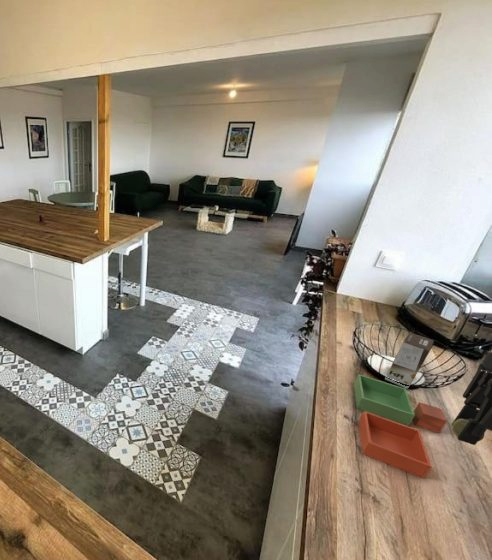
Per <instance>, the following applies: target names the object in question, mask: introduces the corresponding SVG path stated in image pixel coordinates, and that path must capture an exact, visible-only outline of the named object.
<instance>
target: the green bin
mask: <svg viewBox="0 0 492 560" xmlns="http://www.w3.org/2000/svg"><path fill="white" fill-rule="evenodd" d="M353 389H354V390H353V391H354V398H355V405H356V409H357V410H360V411H362V412H364V411H366V412H369V413H371V414H374V415H377V416H380V417H383V418H386V419H389V420H391V421H394V422H397V423H400V424H403V425H406V426H409V427H410V424H411V423H412V422H413V420H414V416H415V414H414V408H413V405H412V402H411V399H410V396H409V394H408V389H406V388H404V387H401V386H399V385H396V384H392V383H389V382H386V381H382V380H379V379H376V378H372V377H369V376H366V375H363V374H359V373H358V374H357V376H356V378H355V380H354V383H353Z"/></svg>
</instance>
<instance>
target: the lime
mask: <svg viewBox="0 0 492 560" xmlns="http://www.w3.org/2000/svg"><path fill="white" fill-rule="evenodd" d="M453 421H454V420H453ZM453 421H452V423H453V426H452V431H453V433H454V435H455V436H456V437H457V438H458V436H459V435H460V433H461V432H462V431H463V429H464V428H465V426H466V425H467V423H468V422H469V419H462V418H461V419H458V420H456V421H454V422H453ZM485 434H486V432H485V433H484V434H483V435H482V437H481V438H480V439H479V441H478V442H481V441H482V440H483V439H484V438H485Z"/></svg>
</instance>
